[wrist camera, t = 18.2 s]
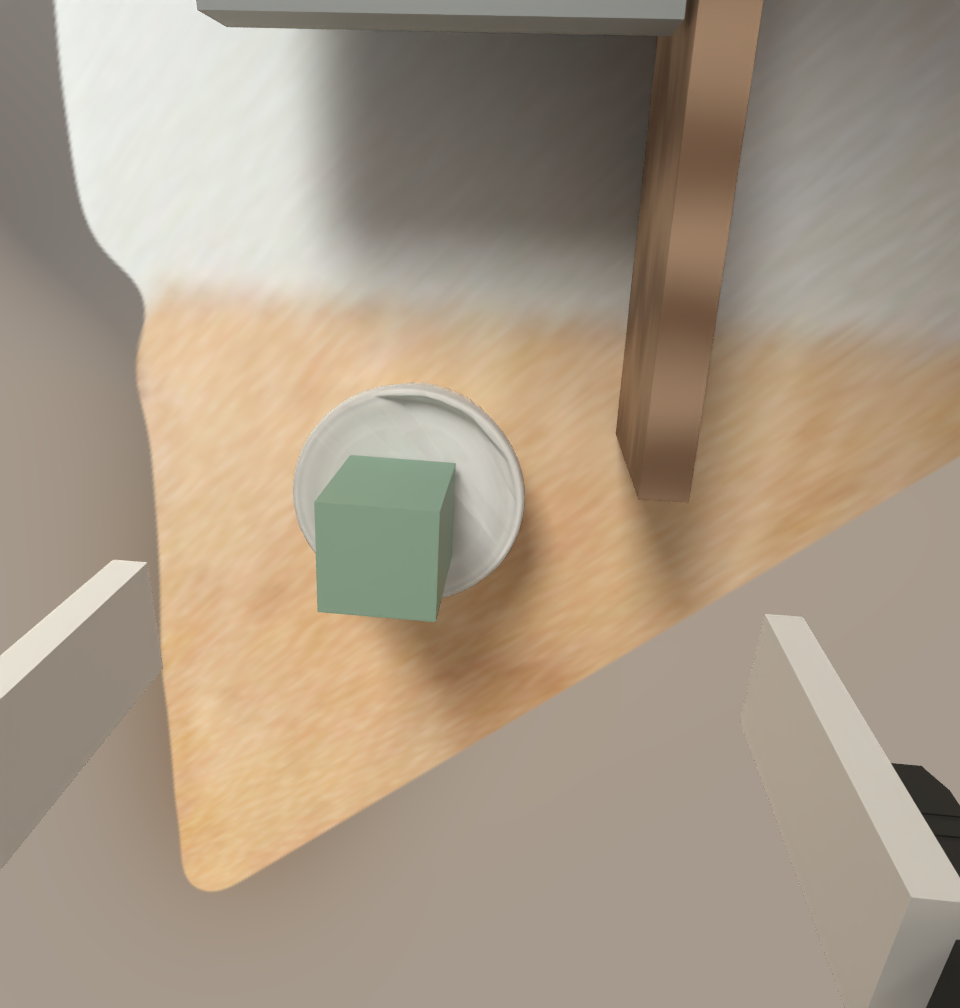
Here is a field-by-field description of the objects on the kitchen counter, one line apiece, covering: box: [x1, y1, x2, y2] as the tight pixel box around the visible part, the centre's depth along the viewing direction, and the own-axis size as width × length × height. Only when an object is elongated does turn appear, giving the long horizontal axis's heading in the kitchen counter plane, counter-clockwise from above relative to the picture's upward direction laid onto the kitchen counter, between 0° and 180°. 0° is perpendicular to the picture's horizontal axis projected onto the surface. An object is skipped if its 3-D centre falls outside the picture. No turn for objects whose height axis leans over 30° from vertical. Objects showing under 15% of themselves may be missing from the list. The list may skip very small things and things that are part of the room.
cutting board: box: [616, 0, 763, 502], centre depth 29 cm, size 28×2×10 cm, turn 178°
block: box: [314, 455, 456, 622], centre depth 33 cm, size 5×5×6 cm
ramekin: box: [293, 382, 525, 598], centre depth 38 cm, size 11×11×5 cm
